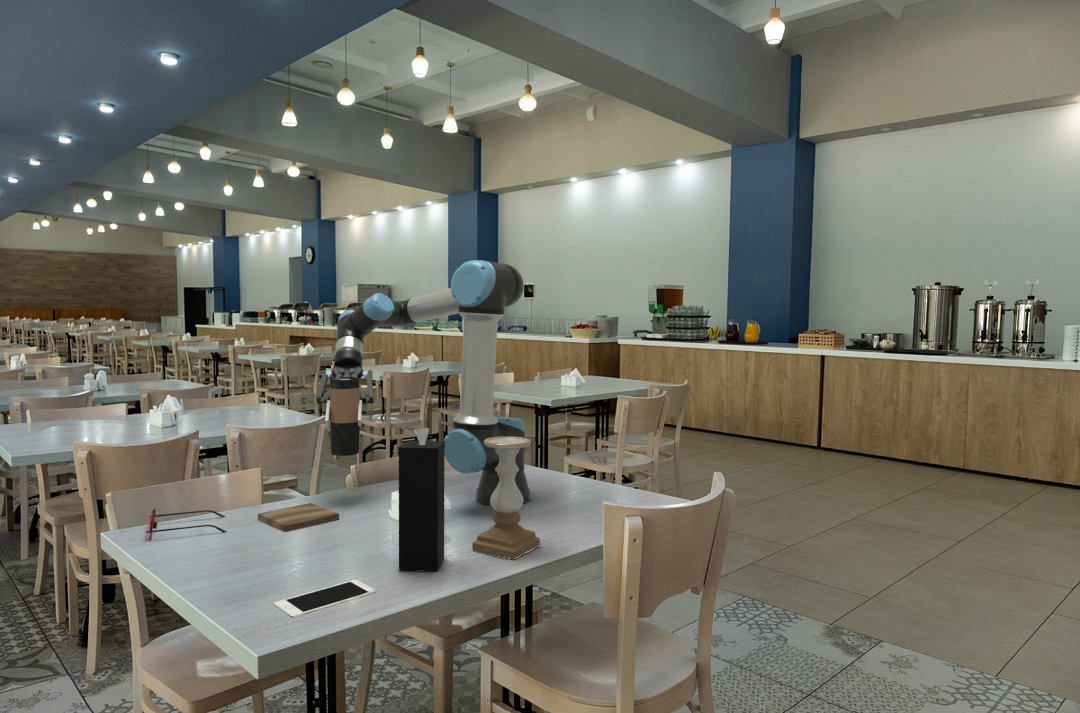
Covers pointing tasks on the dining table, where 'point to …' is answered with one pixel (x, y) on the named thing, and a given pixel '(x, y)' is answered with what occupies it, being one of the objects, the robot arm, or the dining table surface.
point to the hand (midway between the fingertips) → (343, 423)
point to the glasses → (154, 525)
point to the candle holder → (506, 505)
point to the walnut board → (298, 517)
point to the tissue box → (421, 503)
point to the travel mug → (344, 416)
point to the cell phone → (323, 597)
